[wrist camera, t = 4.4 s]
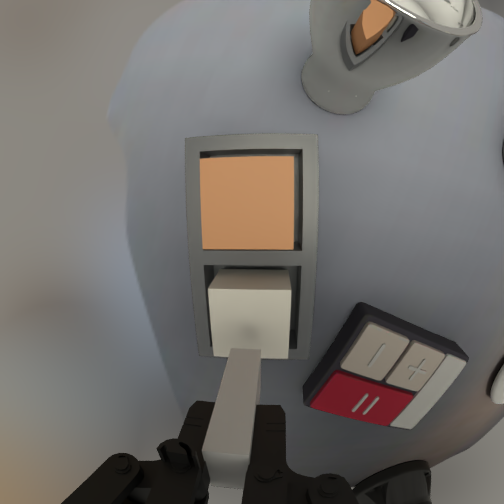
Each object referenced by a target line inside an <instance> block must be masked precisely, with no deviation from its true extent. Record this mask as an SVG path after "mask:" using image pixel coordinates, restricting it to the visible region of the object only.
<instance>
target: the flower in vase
mask: <svg viewBox="0 0 504 504" xmlns="http://www.w3.org/2000/svg"><path fill="white" fill-rule="evenodd" d="M491 401H492V402H494V403H496V404H503V403H504V365H503V366H502V367H501V369H500V371H499V372H498V374H497V376H496V378H495V380H494V382H493V385H492V388H491Z"/></svg>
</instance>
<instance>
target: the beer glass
mask: <svg viewBox="0 0 504 504" xmlns="http://www.w3.org/2000/svg"><path fill="white" fill-rule="evenodd" d="M309 23H310V35H311V44H312V55H311V56H310V57H309V58H308V59H307V61H306V62H305V64H304V66H303V69H302V74H301V79H302V84H303V87H304V90H305V92H306V94H307V95H308V97H309V98H310V99H311V100H312V101H313V102H314V103H315V104H316V105H318V106H319V107H320V108H322V109H324V110H326V111H328V112H331V113H335V114H342V115H346V114H352V113H356V112H358V111H360V110H362V109H363V108H365V107H366V106H367V105H368V104H369V102H370V101H371V99H372V97H373V95H374V93H375V92H376V91H378V90H381V89H385V88H388V87H391V86H394V85H397V84H400V83H403V82H405V81H408V80H410V79H413V78H415V77H417V76H419V75H420V74H422V73H424V72H426V71H427V70H429V69H431V68H432V67H434V66H435V65H436V64H438V63H439V62H440V61H442V60H443V59H444V58H446V57H447V56H448V55H449V54H450V53H452V52H453V51H454V50H455V49H456V48H458V47H459V46H460V45H461V44H462V43H463V42H464V41H465V40H466V39H468V38H469V37H470V36H471V35H473V34H475V33H477V32H478V31H479V29H480V28H481V25H482V11H481V8H480V5H479V2H478V0H311V1H310V9H309Z"/></svg>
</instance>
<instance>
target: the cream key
mask: <svg viewBox="0 0 504 504" xmlns="http://www.w3.org/2000/svg"><path fill="white" fill-rule="evenodd" d="M208 296H209V309H210V321H211V333H212V343H213V354H214V356H219V357H229V353H230V350H231V348H240V349H261V358H269V359H288V350H289V332H290V312H291V284H290V278H289V272H288V270H263V269H220V270H219V271H218V273H217V275H216V276H215V278H214V280H213V281H212V283H211V284H210V286H209V288H208Z"/></svg>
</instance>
